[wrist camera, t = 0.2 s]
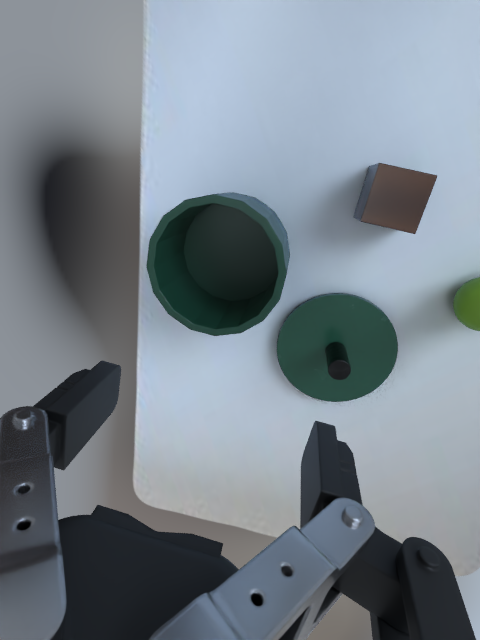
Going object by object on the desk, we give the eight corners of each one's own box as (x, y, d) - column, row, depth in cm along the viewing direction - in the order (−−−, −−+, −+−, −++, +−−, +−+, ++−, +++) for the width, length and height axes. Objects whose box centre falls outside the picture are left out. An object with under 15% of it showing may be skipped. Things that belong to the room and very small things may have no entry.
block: (369, 165, 36) (379, 162, 32) (420, 176, 36) (437, 175, 31) (353, 217, 38) (360, 221, 33) (401, 228, 38) (415, 234, 33)
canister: (189, 182, 40) (156, 180, 31) (302, 208, 39) (302, 214, 30) (172, 290, 44) (140, 316, 35) (273, 316, 43) (266, 349, 34)
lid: (293, 278, 41) (292, 293, 36) (413, 308, 40) (431, 327, 35) (265, 380, 46) (261, 406, 41) (372, 409, 45) (381, 440, 40)
